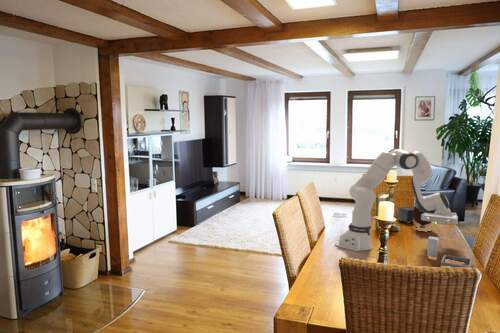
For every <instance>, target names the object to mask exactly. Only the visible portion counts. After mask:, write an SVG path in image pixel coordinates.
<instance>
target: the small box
mask: <svg viewBox="0 0 500 333" xmlns="http://www.w3.org/2000/svg"><path fill="white" fill-rule="evenodd" d="M413 209H414V208H409V207H405V206H404V207H403V206H402V207H397V210H398V211H397V221H398V220H400V221H399V222H401V221H405V222H413V223H414V218H413Z"/></svg>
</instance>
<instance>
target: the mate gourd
mask: <svg viewBox="0 0 500 333" xmlns="http://www.w3.org/2000/svg"><path fill="white" fill-rule="evenodd" d="M412 209H413V221H415V223H417V224H419V225H420V226H419V227H420V228H426V227H427V225H429V224H430V225H431V223H432V221H430V222H428V221H423V220H421V215H422V214H423V213H424V212H421V211H419V209H418V208H417V203H414V206H413V208H412ZM434 212H435V210H431V211H428V212H425V213H432V214H434Z"/></svg>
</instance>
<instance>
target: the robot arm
mask: <svg viewBox="0 0 500 333" xmlns="http://www.w3.org/2000/svg"><path fill="white" fill-rule="evenodd" d="M393 167H396V168H400V169H403V170H405V171H406V170H411V171H412V177H411V180H410V181H411V182H410V184H411V186H412V191H413V194H414V197H415V202H416V203H415V204H417V208H418V209H419V211H421V212H424V213H423V214H422V215H421V220H423V221H428V222H430V221H432V222H433V223H437V224H440V225H444V224H445V225H447V224H451V225H458V222H459V220H458V219H459V216H458V214H457V212H453V211H451V209H450V205H451V204H450V200H449V198H448V196H447V195H446V194H445V193H443V192H436V193H432V194H429V195H425V196H423V194H422V192H421V186H422V185H424V184H425V183H427V182H428V181H429V180H430V179H431V177H432V176H433V169H432V166H431V164H430V162H429V161H428V159H427V157H426V156H425V154H423V152H421V151H413V152H411V151H407V150H405V149H401V148H393V149H390V150H389V151H382V152H381V153H380V154H379V155H378V156H377V157H376V158H375V159H374V160H373V162H372V163H371V165H370V166H369V168H368V169H367V171H366V172H364V174H363V175H362V176H361V177H360V178H359V179H358V180H357V181H356V182H355V183H354V184H352V185H351V186H350V187H349V190H348V191H349V192H348V193H349V195H350V197H351V198H352V199H353V200H354V202H355V203H354V208H353V210H352V212H351V213H352V214H351V222H350V224H348V226H347V227H348V229H347V230H346V231H344V232H342V233H341V234H340V235H339V239H338V240H337V241H336V242H335V247H339V248H341V249H346V250H350V251H354V252H359V251H370V250H372V249H373V244H372V239H371V238H372V236H371V235H372V225H371V223H372V222H371V220H372V210H373V207H374V206H373V205H374V203H376V202H375V201H376V197H377V195H376V193H375V191H374V189H375V188H377V187H378V186H380V185H381V184H382V183H383V181H384V180H385V179H386V177H387V176H388V174H389V173H390V171H391V170H392V169H393ZM431 210H434V214H432V213H425V212H428V211H431ZM432 222H431V223H432Z"/></svg>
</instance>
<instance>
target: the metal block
mask: <svg viewBox="0 0 500 333" xmlns="http://www.w3.org/2000/svg"><path fill="white" fill-rule="evenodd" d="M439 244H440V237H436V236H429V237H428V238H427V249H426V251H427V252H426V257H427V256H431V257H436V258H437V256H438V257H439Z"/></svg>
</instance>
